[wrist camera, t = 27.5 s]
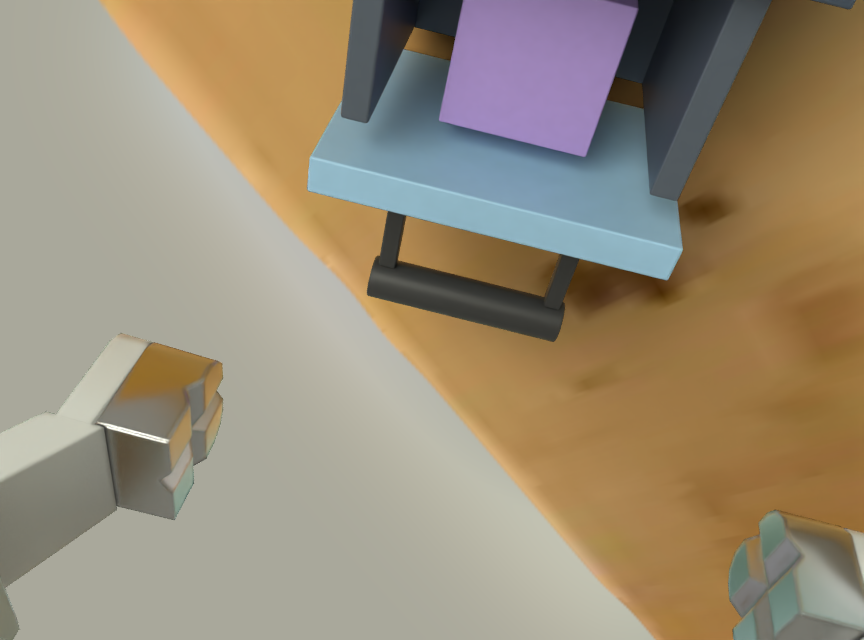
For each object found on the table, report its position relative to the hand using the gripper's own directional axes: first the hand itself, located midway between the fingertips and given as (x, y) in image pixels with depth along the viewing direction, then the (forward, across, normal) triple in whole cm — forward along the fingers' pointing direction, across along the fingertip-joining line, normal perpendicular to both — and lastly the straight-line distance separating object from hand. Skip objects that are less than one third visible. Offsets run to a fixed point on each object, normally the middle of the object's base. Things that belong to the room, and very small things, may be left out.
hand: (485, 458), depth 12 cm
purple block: (+19, +1, 0) cm, 19 cm away
